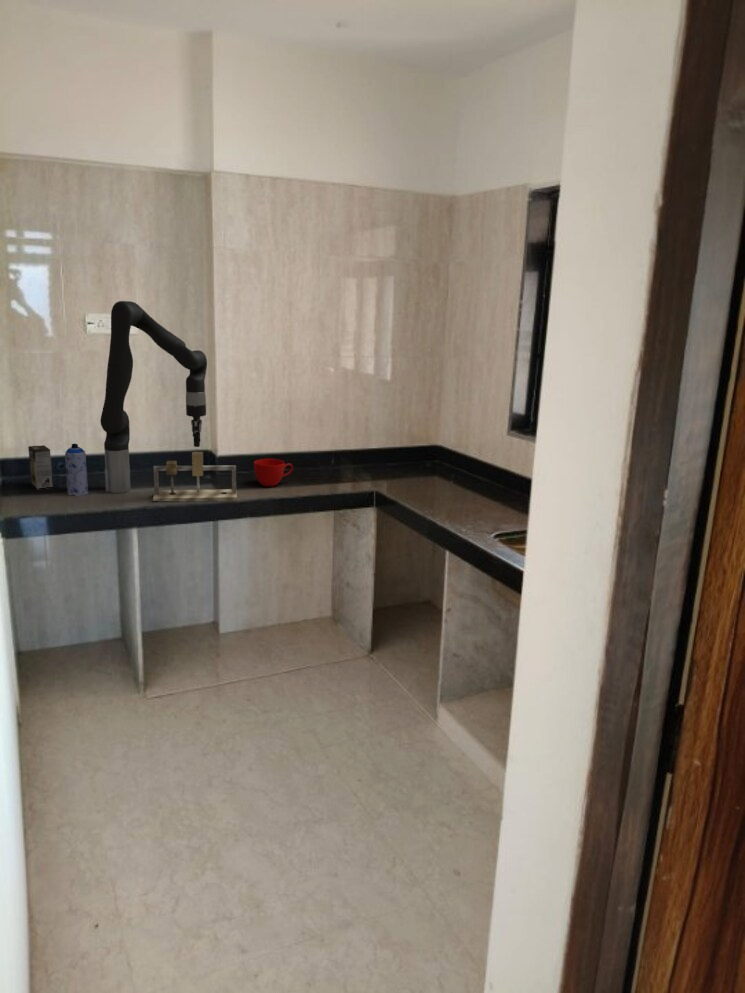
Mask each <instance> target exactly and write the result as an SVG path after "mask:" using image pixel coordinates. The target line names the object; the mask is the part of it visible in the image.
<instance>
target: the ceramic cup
mask: <svg viewBox="0 0 745 993" xmlns="http://www.w3.org/2000/svg"><path fill="white" fill-rule="evenodd" d="M288 466H290V470H289V471H288V472H286V473H284V471H285V468H286V467H288ZM253 469H254V474H255V477H256V479H257V481H258V483H259V484H260V485H261V486H262V485H263V487H267V486H271V487H276V486H277V485H278V484H279V483H280V482H281V480H282V479H283V477H286V476H288V475H290V474H291V473H292V472H293V469H294V466H293V465H292V463H285V461H284V460H281V459H277V458H261V459H257V460H255V461H253ZM275 485H276V486H275Z"/></svg>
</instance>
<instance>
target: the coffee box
mask: <svg viewBox="0 0 745 993" xmlns="http://www.w3.org/2000/svg"><path fill="white" fill-rule="evenodd" d="M51 456H52V454H51V449H50V448H48V447H47V446H46V445H29V446H28V458H29V469H30V479H31V480H30V481H31V485H32V484H33V485H34V486H35V487H36V488H37V489H36V488H35V487H34V486H33V485H32V486H33V487H34V488H35V489H36V490H40V489H39V488H46V487H53V488H54V486H53V483H54V482H53V474H52V472H53V471H52V457H51ZM46 489H47V488H46Z"/></svg>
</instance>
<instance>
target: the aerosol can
mask: <svg viewBox="0 0 745 993" xmlns="http://www.w3.org/2000/svg"><path fill="white" fill-rule="evenodd" d="M64 458H65V459H64V460H65V471H66V473H65V474H66V488H67V493H68V494H71V495H83V494H87V493H88V492H89V486H88V484H89V483H88V472H87V471H88V470H87V456H86V451H85V450H84V449H83V448H82V447H80V446H78V443H71V447H69V448H68V449H66V451H65V452H64ZM68 494H67V495H68ZM88 494H89V493H88ZM88 494H87V495H88ZM83 496H84V495H83Z"/></svg>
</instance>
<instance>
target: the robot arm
mask: <svg viewBox="0 0 745 993" xmlns="http://www.w3.org/2000/svg"><path fill="white" fill-rule="evenodd" d="M131 327H134V328H135V329H136V328H137V329H139V330H140V331H142V332H143V333H145V334H146V335H148V336H149V338H150V339H151V340H152V341H153V342H154V343H155V344H156V345H157V346H158V347H159V348H160V349H161V350H163V351H165V352H166V353H167V354H169V355H170V356H172V357H173V358H174V359H175V361H176V362H178V363H179V365H180V366H182V367H183V368H184V369H187V370H188V371H189V374H188V376H187V377H186V379H185V410H186V411H185V412H186V413H185V414H186V416H188V417H192V419H191V421H190V425H191V432H192V438H193V447H194V448H200V446H201V432H202V424H203V422H202V421H203V420H202V419H201V417H205V416H206V415H207V399H206V389H205V388H206V386H205V378H206V374H207V368H208V367H207V366H208V360H207V356H206V354H205V353H204V352H203V351H202V350H191V349H189V348H188V347H187V345H186V342H184V340H182V339H181V338H180V337H178V336H176V335H175V334H173V333H172V332H171V331H169V330H168V329H167V328H165V327H163V326H162V325H161V324H160V323H158V321H156V320H155V319H154V318H153V317H151V316H150V315H149V314H148V313H147V312H146V310H144V309H143V307H141V306H140V305H139V304H138V303H136V302H134V301H128V300H127V301H126V300H119V301H116V302H115V303H114V304H113V306H112V308H111V312H110V340H109V341H110V342H109V352H108V361H107V368H106V380H105V397H104V401H103V406H102V412H101V416H100V419H99V420H100V425H101V428H102V430H103V431H104V432H106V435H105V439H104V440H105V441H104V443H103V447H104V449H103V450H104V464H105V465H104V466H105V467H104V482H105V483H104V485H105V492H106V493H112V494H113V493H115V494H121V493H128V492H130V491H131V490H132V489H131V486H132V484H131V468H130V450H129V448H130V447H129V444H130V437H131V433H130V432H131V429H130V419H129V415H128V413H127V412H126V411H125V410H124V404H125V398H126V395H127V393H128V389H129V388H130V384H131V382H132V376H133V371H134V369H133V367H134V357H133V353H132V350H131V346H130V335H131V334H130V332H131Z"/></svg>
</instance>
